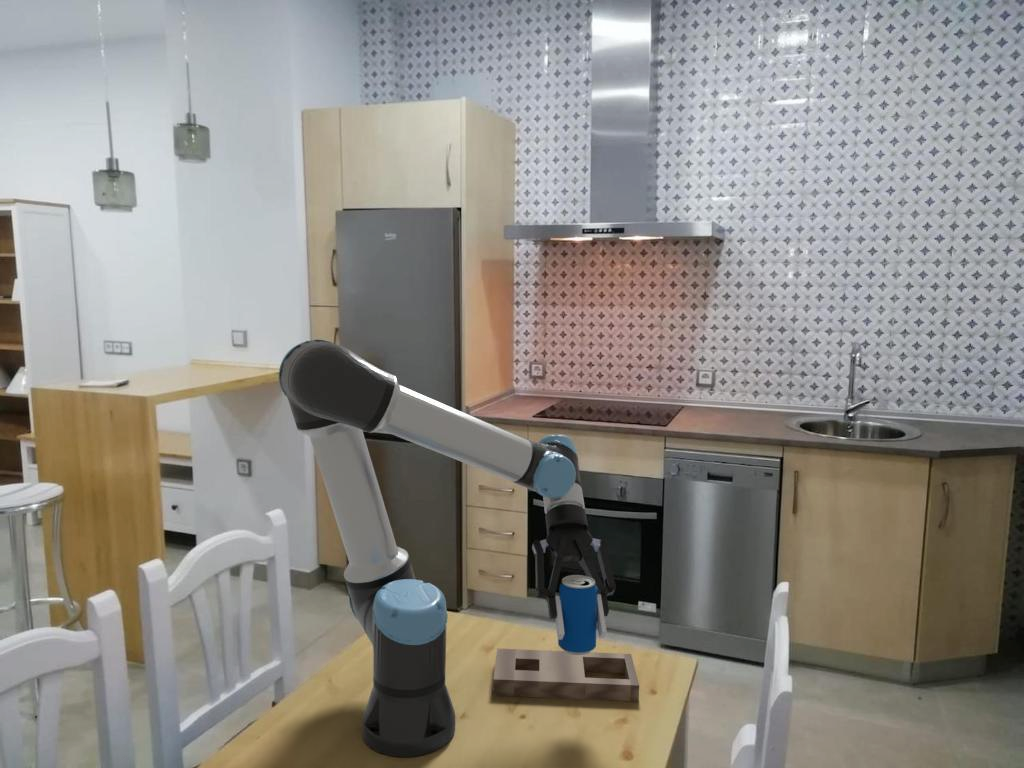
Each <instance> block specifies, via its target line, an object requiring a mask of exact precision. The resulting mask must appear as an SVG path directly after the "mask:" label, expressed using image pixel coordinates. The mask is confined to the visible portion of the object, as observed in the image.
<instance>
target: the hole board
mask: <svg viewBox="0 0 1024 768" xmlns="http://www.w3.org/2000/svg"><path fill="white" fill-rule="evenodd" d="M493 670H494V671H493V679H492V680H493V681H492V683H493V684H492V685H493V686H492V696H500V697H501V696H503V697H504V696H505V697H529V698H547V699H548V698H549V699H552V698H553V699H572V700H573V699H574V700H575V699H576V700H594V701H595V700H597V701H615V702H617V701H618V702H619V701H620V702H622V701H623V702H640V699H639V698H640V683H639V680H638V678H639V677H638V675H637V672H636V667H635V664H634V659H633V656H632V654H631V653H619V652H618V653H617V652H616V653H615V652H614V653H613V652H593V651H590V652H589V653H588V654H584V655H573V654H569V653H567V652H565V651H564V650H543V649H542V650H540V649H523V648H522V649H519V648H517V649H515V648H496V656H495V664H494V669H493ZM585 673H600V674H601V673H602V674H603V673H606V674H623V676H624V678H605V677H604V678H603V677H601V678H599V677H586V675H585Z"/></svg>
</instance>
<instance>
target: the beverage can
mask: <svg viewBox="0 0 1024 768" xmlns="http://www.w3.org/2000/svg"><path fill="white" fill-rule="evenodd" d="M597 591H598V589H597V586H596V585H595V580H594V579H593V578H591V577H588V576H586V575H583V574H571V575H566V576H564V577H563V578H561V583H560V584H559V588H558V592H559V593H558V596H560V601H561V608H562V616H563V624H564V632H565V634H564V636H563V639H562V640H558V639H557V641H558V647H559V648H561V650H562V651H565V652H567V653H569V654H573V655H584V654H588V653H589V652H593V651H594V649H596V646H597V629H598V626H597Z"/></svg>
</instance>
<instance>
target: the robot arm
mask: <svg viewBox="0 0 1024 768" xmlns="http://www.w3.org/2000/svg"><path fill="white" fill-rule="evenodd" d="M278 383H279V386H280V389H281V391H282V392H283V393H284V396H286V398H287V401H288V404H289V407H290V410H291V413H292V416H293V419H294V422H295V425H296V429H297V431H298V432H300V433H302V434H304V435H306V436H308V437H309V439H310V442H311V445H312V448H313V452H314V454H315V458H316V461H317V464H318V466H319V467H318V468H319V470H320V473H321V477H322V480H323V484H324V485H325V489H326V493H327V496H328V499H329V503H330V506H331V508H332V512H333V515H334V519H335V521H336V525H337V527H338V531H339V534H340V535H339V536H340V538H341V541H342V544H343V548H344V549H345V553H346V556H347V560H348V562H349V563H348V564H347V566H346V567H345V570H344V572H343V577H344V580H345V584H346V587H347V590H348V601H349V602H348V603H349V607H350V609H351V611H352V614H353V615H354V618H355V619H356V621H358V623H359V624H360V626H361V628H362V629H363V631H364V632H365V635H366V636H367V637H368V638H367V639H368V640H369V641H370V642H371V645H372V652H373V655H372V656H373V658H372V659H373V662H372V663H373V664H372V665H373V666H372V667H373V668H372V669H373V670H372V671H373V672H372V673H373V674H372V677H373V679H372V680H373V681H372V683H373V684H372V689H371V692H370V695H369V697H368V701H367V704H366V706H365V709H364V713H363V716H362V719H361V721H362V722H361V727H362V728H361V736H362V739H363V741H364V743H365V744H366V745H367V746H368V747H369V748H370V749H372V750H373V751H376V753H377V752H378V753H380V754H383V755H387V756H392V757H399V758H401V757H402V758H403V757H404V758H405V757H407V758H408V757H417V756H423V755H427V754H430V753H433V752H436V751H437V750H439V749H441V748H442V747H444V746H445V745H446V744H448V743H449V742H450V741H451V740H452V738H453V737H454V735H455V733H456V712H455V709H454V706H453V702H452V699H451V697H450V694H449V690H448V688H447V684H446V668H447V667H446V666H447V665H446V663H447V662H446V660H447V659H446V658H447V623H448V618H449V617H448V610H447V602H446V598H445V595H444V593H443V592H442V591H441V590H440V589H439V587H437V586H436V585H434V584H432V583H431V582H425V581H423V580H420V579H416V576H415V573H414V570H413V566H412V563H411V559H410V556H409V553H408V551H407V550H406V549H404V548H402V547H400V546H397V543H396V539H395V536H394V531H393V528H392V526H391V523H390V518H389V516H388V515H389V514H388V513H387V509H386V506H385V502H384V498H383V496H382V492H381V489H380V485H379V481H378V478H377V474H376V472H375V469H374V465H373V461H372V459H371V458H372V457H371V456H370V451H369V449H368V445H367V442H366V441H367V440H366V439H365V435H364V432H367V433H370V434H372V433H375V432H377V431H379V430H380V431H383V432H385V433H388V434H391V435H394V436H396V437H398V438H400V439H403V440H405V441H407V442H408V441H409V442H411V443H413V444H416V445H418V446H421V447H423V448H426V449H428V450H431V451H434V452H436V453H439V454H441V455H444V456H445V457H449V458H451V459H454V460H456V461H459V462H462V463H464V464H466V465H469V466H472V467H474V468H476V469H479V470H481V471H484V472H487V473H489V474H491V475H494V476H497V477H499V478H501V479H504V480H506V481H510V482H512V483H514V484H516V485H519V486H521V487H523V488H526V489H529V490H531V491H533V492H536V493H537V494H538V495H540V496H542V499H543V507H544V508H543V509H544V514H545V516H544V517H545V526H546V533H547V534H546V538H545V539H541V540H539V539H535V540H533V543H532V546H531V550H532V553H533V555H534V558H535V559H534V560H535V596H536V598H538V599H544V600H545V601H546V602H547V609H548V616H549V619H554V620H555V628H556V635H557V636H556V637H557V641H558V640H562V639H563V636H564V634H565V632H564V624H563V616H562V608H561V601H560V596H559V595H556V593H557V589H558V584H559V583H558V582H559V578H560V574H561V570H562V569H561V568H562V565H563V562H568V561H574V562H578V564H579V566H580V567H582V570H583V571H584V573H585V576H588V577H591V578H593V579H594V580H595V585H596V586H597V589H598V591H597V632H598V638H599V639H602V638H604V637H605V636H606V634H607V632H608V629H607V625H606V619H605V617H607V616H608V615H609V611H610V609H609V608H610V607H609V602H608V597H609V596H613V595H614V592H615V590H616V588H617V585H616V581H615V576H614V573H613V570H612V569H613V568H612V566H611V561H610V559H609V554H608V550H607V549H608V539H607V538H606V537H602V538H601V539H598V538H594V537H593V535H592V534H591V532H590V531H589V526H588V519H587V518H588V517H587V513H586V510H585V508H586V506H585V500H584V495H583V488H582V481H581V474H580V467H579V456H578V454H577V450H576V447H575V446H576V445H575V444H574V441H573V440H572V438H570V436H567V435H564V434H557V435H555V434H549V435H546V436H545V437H542V438H541V439H540V440H539V442H536V441H533V440H529V439H526V438H523V437H521V436H519V435H516V434H515V433H511V432H509V431H507V430H504V429H502V428H501V427H497V426H495V425H493V424H491V423H489V422H486V421H484V420H482V419H480V418H477V417H474V416H472V415H470V414H468V413H466V412H463V411H461V410H458V409H456V408H454V407H452V406H450V405H446V404H445V403H442V402H440V401H438V400H436V399H433V398H431V397H428V396H426V395H424V394H421V393H419V392H417V391H415V390H413V389H410V388H408V387H405V386H404V385H401V384H399V382H398V379H397V376H396V375H394V374H392V373H390V372H387V371H385V370H383V369H380V368H379V367H377V366H375V365H373V364H372V363H370V362H368V361H367V360H366V359H363V357H360V356H359V355H357V354H356V353H355V352H353V351H352V350H350V349H348V348H346V347H345V346H343V345H340V344H335V343H333V342H331V341H329V340H326V339H325V340H324V339H311V340H306V341H304V342H301V343H298V344H297V345H294V346H293V347H291V349H290V350H288V351H287V353H286V354H285V355H284V357H283V359H281V362H280V366H279V370H278ZM591 546H592V547H593V550H594V551H595V552H596V553H597V559H598V564H599V567H600V572H601V575H602V576H600V574H599V573H598V571H597V569H596V567H595V565H594V562H593V561H592V558H591V555H590V553H589V549H590V547H591ZM547 548H548V549H549V551H551V553H552V554H554V556H555V559H554V563H553V567H552V570H551V571H552V572H551V576H550V581H549V586H548V588H545V556H544V555H545V553H546V549H547ZM601 577H602V578H601ZM602 579H603V580H602Z"/></svg>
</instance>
